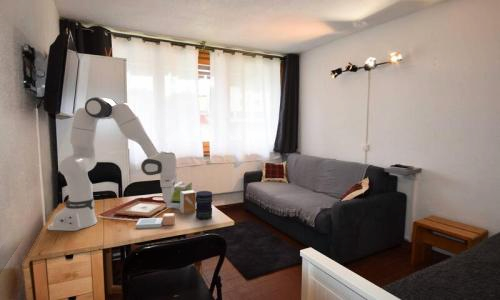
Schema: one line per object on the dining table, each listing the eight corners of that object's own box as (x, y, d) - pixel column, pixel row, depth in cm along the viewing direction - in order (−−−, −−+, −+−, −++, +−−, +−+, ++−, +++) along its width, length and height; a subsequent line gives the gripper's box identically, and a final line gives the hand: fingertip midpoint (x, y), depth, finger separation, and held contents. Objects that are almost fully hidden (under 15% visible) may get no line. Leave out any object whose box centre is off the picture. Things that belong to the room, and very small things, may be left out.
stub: (162, 225, 149) (162, 216, 148) (163, 221, 153) (163, 213, 153) (173, 224, 150) (173, 216, 149) (174, 221, 154) (174, 213, 154)
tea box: (178, 201, 193) (178, 181, 191) (192, 202, 191) (192, 181, 190) (169, 208, 178) (169, 186, 176) (184, 209, 177) (184, 187, 175)
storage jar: (197, 221, 156) (197, 196, 155) (194, 215, 165) (194, 191, 164) (214, 219, 160) (214, 194, 158) (210, 213, 169) (210, 190, 167)
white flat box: (135, 228, 144) (135, 224, 144) (139, 221, 153) (139, 218, 153) (161, 227, 147) (161, 223, 146) (163, 220, 155) (163, 217, 155)
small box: (183, 214, 167) (183, 193, 166) (180, 211, 172) (179, 191, 171) (195, 212, 171) (195, 192, 170) (192, 209, 177) (192, 189, 175)
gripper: (165, 176, 158) (166, 199, 160) (159, 185, 138) (160, 211, 140) (176, 176, 160) (177, 198, 161) (172, 184, 140) (173, 210, 141)
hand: (169, 204), depth 150 cm, fingers open, 8 cm apart
